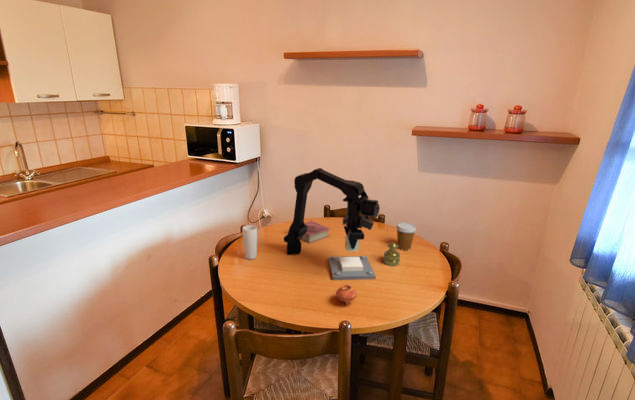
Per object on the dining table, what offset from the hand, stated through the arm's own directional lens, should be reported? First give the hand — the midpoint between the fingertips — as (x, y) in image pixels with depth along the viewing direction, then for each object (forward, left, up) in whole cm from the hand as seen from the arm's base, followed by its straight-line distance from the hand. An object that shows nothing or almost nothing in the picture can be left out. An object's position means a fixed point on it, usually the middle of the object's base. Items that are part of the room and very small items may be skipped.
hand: (351, 246), depth 150 cm
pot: (-6, -24, -11) cm, 27 cm away
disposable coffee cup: (+31, +20, -11) cm, 39 cm away
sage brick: (0, 0, -1) cm, 1 cm away
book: (-16, +37, -12) cm, 42 cm away
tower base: (0, 0, -11) cm, 11 cm away
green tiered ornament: (+20, +5, -11) cm, 24 cm away
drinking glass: (-45, +13, -11) cm, 48 cm away
